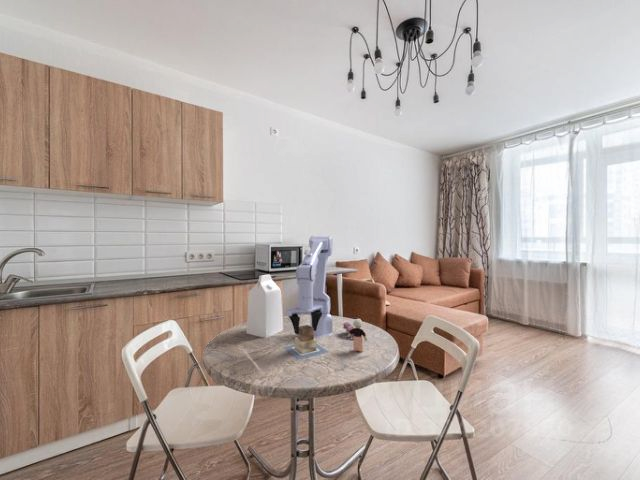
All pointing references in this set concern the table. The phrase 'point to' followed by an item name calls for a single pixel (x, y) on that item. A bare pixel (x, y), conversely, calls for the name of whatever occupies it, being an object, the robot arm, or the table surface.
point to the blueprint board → (299, 355)
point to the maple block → (305, 346)
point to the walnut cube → (306, 333)
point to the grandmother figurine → (358, 335)
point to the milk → (265, 308)
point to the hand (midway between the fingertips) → (305, 331)
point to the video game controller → (348, 328)
